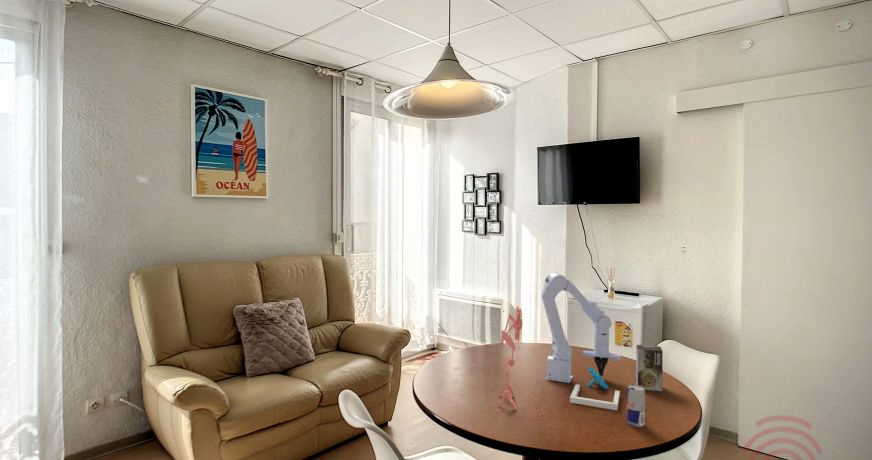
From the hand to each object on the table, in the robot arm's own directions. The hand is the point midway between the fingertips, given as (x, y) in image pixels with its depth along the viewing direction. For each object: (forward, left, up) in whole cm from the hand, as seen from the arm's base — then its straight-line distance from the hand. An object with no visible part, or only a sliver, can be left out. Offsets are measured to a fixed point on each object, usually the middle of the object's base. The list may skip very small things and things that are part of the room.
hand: (601, 375), depth 190 cm
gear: (0, -10, -2) cm, 10 cm away
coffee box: (+18, -2, -2) cm, 18 cm away
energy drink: (+14, -39, -2) cm, 41 cm away
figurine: (-25, -39, -2) cm, 46 cm away
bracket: (0, -23, -2) cm, 23 cm away
